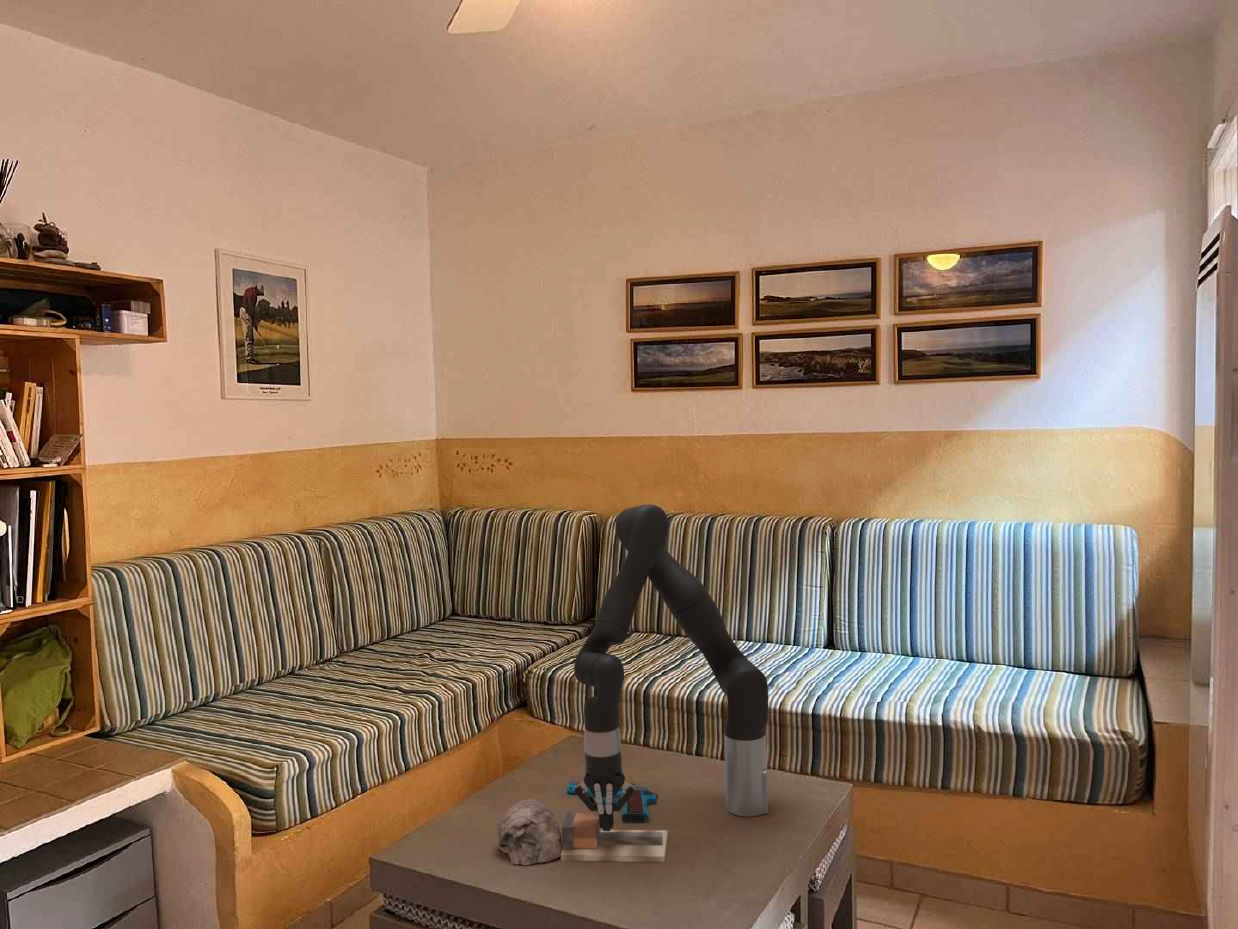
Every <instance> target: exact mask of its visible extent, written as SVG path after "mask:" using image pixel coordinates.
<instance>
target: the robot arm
mask: <svg viewBox="0 0 1238 929" xmlns="http://www.w3.org/2000/svg"><path fill="white" fill-rule="evenodd" d="M614 526H615V527H614V528H615V532H616V533H615V534H616V536H617V538H618V541H619V542H620V543H621V544H622V546H623V547H624V549H625V550H626V551H627V554H626V557H625V559H624V562H623V564H622V566H621V567H620V570H619V572H618V573H617V575H616V577H614V580H613V581H612V583H611V584H610V586H609V587H608V590H607V591H606V593H605V595H604V597H603V600H602V602H601V604H600V608H599V612H598V614H597V617H596V621H595V625H594V627H593V629H592V630H591V632H590V633H589V635H588V636H587V638H586V640H585V641H584V643H583V644H582V645H581V648H580V649H579V651H578V653H577V656H576V657H575V660H574V665H573V666H574V667H573V672H574V677H575V679H576V680H577V682H579V683H580V684H582V685H585V686H587V687H588V686H589V687H593V688H596V689H597V690H598V693H597V695H593V696H591V697H588V698H587V699H586V700H585V702H584V704H583V715H584V716H583V717H584V718H583V720H584V734H583V750H584V763H585V764H584V765H585V767H584V768H585V775H584V777H583V780H582V781H580V782H581V783H578V784H577V785H576V787H575V790H574V791H575V793H576V794H575V795H576V796H577V797H578V798H579V799H580V800H581V801H582V803H583V804H584V805H585V806H586V807H587V808H588V810H589V811H591V812H597V814H599V826H600V829H602V830H603V831H610V830H612V829H613V827H614V823H615V820H614V813H615V812H620V811H622V807H623V806H624V804H625V803H626V802H627V801H628V799H629V798H630V797H631V795H632V794H633V793H634V789H635V786H636V785H635V784H634V783H632V782H631V783H630V782H629V781H627V780H626V777H625V776H626V775H625V774H624V773H623V764H622V763H623V762H622V743H621V742H622V740H621V731H620V726H619V724H620V723H619V722H620V721H619V711H618V710H619V702H620V699H621V694H622V690H623V689H622V688H623V684H624V682H625V681H624V680H625V668H624V664H623V662H622V661H621V659H620V658H619V657H618V656H616V655H613V654H610V653H608V651H609V649H610V648H611V647H612V646H618V645H619V646H620V645H622V644H624V643H625V642H626V640H627V637H628V634H629V631H630V628H631V625H632V622H633V619H634V614H635V611H636V608H637V604H638V602H639V599H640V596H641V594H642V591H643V588H644V586H645V584H646V581H647V580H648V579H649V581H650V582H651V583H652V585H653V586H654V588H655V591H657V593H658V594H659V596H660V597H661V599H662V601H663V602H664V604H665V605H666V607H667V608H668V610H669V612H670V613H671V615H672V616H673V618H674V619H675V621H676V623H677V624H678V625H679V627H680V628H681V629H682V630H683V632H684V633H685V635H686V636H687V637H688V638H689V640H690V641H691V642H692V643H693V644H694V645H695V646H696V647H697V649H698V650H699V651H700V652H701V654H702V655H703V657H704V658H705V660H706V662H707V664H708V665H709V667H710V669H711V671H712V674H713V676H714V677H715V680H716V682H717V684H718V685H719V688H720V689H721V691H722V692H723V693H724V695H725V696H726V698H727V717H726V719H724V721H723V740H724V741H723V742H724V743H723V744H724V746H723V747H724V771H725V772H724V774H725V779H724V780H725V802H726V803H725V804H726V806H725V807H726V810H727V812H729V813H730V814H733V815H734V816H735V815H736V816H739V817H747V818H749V817H757V816H760V815H761V816H762V815H764V814H765V815H768V814H769V789H768V786H769V785H768V768H767V741H766V739H767V738H766V736H767V735H766V733H767V732H766V731H767V730H766V729H767V728H766V727H767V724H768V721H769V686H768V685H769V684H768V680H767V678H766V676H765V674H764V672H763V671H762V670H760V669H759V668H758V667H757V666H756V665H754V664H753V662H751V660H749V659H748V658H747V657H746V656H745V654H744V653H743V652H742V651H741V649H740V648H739V647H738V645H737V644H736V643H735V641H734V640H733V639H732V638H731V635H730V634H729V632H728V630H727V628H726V624H725V621H724V619H723V617H722V614H721V612H720V610H719V608H718V606H717V604H716V603H715V601H714V599H713V598H712V596H711V595H710V593H709V591H708V590H707V588H706V587H705V585H703V583H702V582H701V580H700V579H699V578H697V577H696V575H694V574H693V573H692V572H691V571H689V569H687V568H686V567H685V566H683V565H682V564H681V563H680V562H679V561H678V560H676V559H675V557H674V556H672V554H671V553H670V552H669V551H668V550H667V548H666V547H665V545H664V543H665V541H666V539H667V536H668V534H669V529H670V522H669V518H668V515H667V514H666V511H665V510H664V509H663V508H662V507H660V506H658V505H656V504H642V505H636V506H632V507H628V508H625V509H623V510H622V511H621V512H619V514H618V515H617V517H616V520H615V525H614ZM586 786H587V787H588V789H589V790H590V791H591V792H592V794H593V795H594V796H596V798H594V797H592V796H591V795H590V794H589V793H588V792H587V787H586ZM622 786H623V790H622V791H623V794H622V795H621V797H620V798H619V799H618V800H617V802H616V803H613V802H614V796H615V795H616V794H617V792H618V791H619V790H620V788H621V787H622ZM604 797H606V803H605V800H604Z"/></svg>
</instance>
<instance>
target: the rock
mask: <svg viewBox="0 0 1238 929" xmlns="http://www.w3.org/2000/svg"><path fill="white" fill-rule="evenodd" d="M497 838H498V840H499V841H498V849H499V850H500V851H503V853H504V854H508V856H509V859H510V862H511V864H512V865H522V866H530V865H534V864H539V863H546V862H550V861H552V860H555V859H557V858H560V857H561V853H562V850H563V842H562V831H561V829H560V825H559V824H558V821H557V820H556V818H555V816H554V812H553V811H552V810H551V809H550V808H548V807H547V806H546V805H545V804H543V803H542V802H540V801H538V800H535V799H531V798H530V799H529V798H528V799H527V798H526V799H522V800H520V801H518V802H517V803H516V804H513V805H512V806H511V807H510V808H508V811H507V812H506V813H505V814H503V816H502V817H501V819H500V821H499V822H498V824H497Z"/></svg>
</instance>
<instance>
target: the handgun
mask: <svg viewBox="0 0 1238 929" xmlns="http://www.w3.org/2000/svg"><path fill="white" fill-rule="evenodd" d="M581 782H582V781H572V780H570V781H569V782H568V786H567V787H566V793H567V794H572V795H574V794H575V795H577V794H576V793H575V791H574V790H575V787H576V785H577V784H578V783H581ZM586 787H587V786H586ZM622 790H623V786H622V787H621V788H620V790H619V791H618V792H617V794H616V795H615V796H614V802H613V803H616V802H617V800H618V799H619V798H620V797H621V795H622V794H623V791H622ZM587 792H588V793H589V794H590V795H591V796H592V798H594V799H596V796H594V795H593V794H592V792H591V791H590V790H589V789H588V787H587ZM658 798H659V795H658V794H657V793H656V792H654V791H653V792H652V791H650V787H649V786H638V785H637V786H636V785H635V789H634V793H633V794H632V795H631V797H630V798H629V799H628V801H627V802H626V803H625V804H624V806H623V807H622V808H621V814H622V816H621V819H622V821H623V822H625V823H648V822H649V821H650V817H649V810H648V805H650V804H653V803H656V802H658ZM604 800H605V804H606V797H604Z"/></svg>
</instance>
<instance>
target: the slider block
mask: <svg viewBox="0 0 1238 929" xmlns="http://www.w3.org/2000/svg"><path fill="white" fill-rule="evenodd" d="M601 830H602V828H600V826H599V813H591V812H590V813H589V812H588V813H586V812H585V813H583V812H582V813H581V812H580V813H578V812H577V813H576V816H575V819H574V822H573V824H572V839H573V848H597V847H598V832H601Z"/></svg>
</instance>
